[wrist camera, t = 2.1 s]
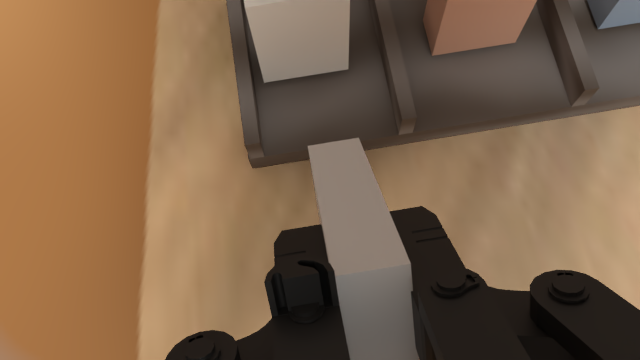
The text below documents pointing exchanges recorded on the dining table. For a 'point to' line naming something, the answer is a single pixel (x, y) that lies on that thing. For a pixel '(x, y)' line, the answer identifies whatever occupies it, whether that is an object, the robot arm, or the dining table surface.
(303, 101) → the grey compartment tray
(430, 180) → the dining table surface
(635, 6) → the key slate
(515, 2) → the key terracotta
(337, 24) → the key offwhite
